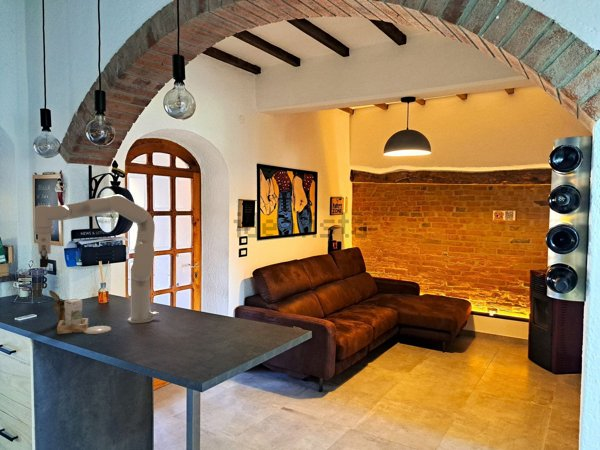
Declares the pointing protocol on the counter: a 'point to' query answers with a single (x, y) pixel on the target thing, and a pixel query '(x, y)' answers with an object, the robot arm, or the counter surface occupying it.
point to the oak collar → (72, 327)
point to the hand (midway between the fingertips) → (44, 266)
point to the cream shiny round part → (97, 329)
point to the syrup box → (72, 312)
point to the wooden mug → (57, 303)
